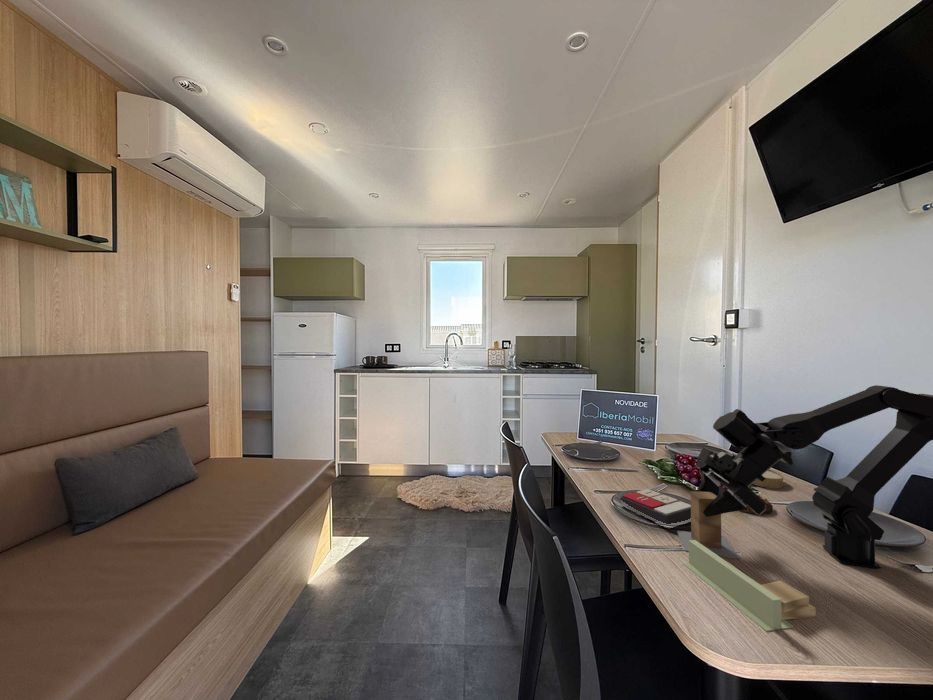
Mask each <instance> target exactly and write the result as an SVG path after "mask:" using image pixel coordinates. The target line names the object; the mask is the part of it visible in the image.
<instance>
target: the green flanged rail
mask: <svg viewBox="0 0 933 700" xmlns="http://www.w3.org/2000/svg"><path fill="white" fill-rule="evenodd" d="M683 565H684V566H685V567H686V568H687V569H689V570H690V571H691V572H692V573H694V575H696V576H697V577H698V578H699V579H701V580H702V581H703V582H705V583H706V584H707V585H708V586H709V587H711V588H712V589H713V590H715V591H716V592H717V593H719V595H721V596H722V597H724V599H725V600H727V601H728V602H729V603H731V604H732V606H734V607H736V608H737V610H740V611H741V612H742V613H743V614H744V615H746V617H748V618H749V619H750V620H752V621H753V622H754V623H755V624H757V625H758V627H760V628H761V629H763V630H764V631H765V632H773V631H780V630H781V631H782V630H786V629H792V628H794V625H793V624H791V623H789V622H788V620H787V619H786V620H781V599H780V598H779V597H777V596H776V595H774V594H773V593H771V592H770V591H769V590H767V589H766V588H764V587H763V586H761V585H762V584H760V583H758V582H757V581H756V580H754V579H753V578H751V577H750V576H748V575H747V574H745V573H744V572H742V571H741V570H739V569H738V568H736V566H734V565H732V564H731V563H730V562H728V561H726V560H725V559H724V558H723V557H720V556H718V555H716V554H715V553H713V552H712V551H711V550H709V549H708V548H706V547H705V546H703V545H702V544H700V543H699V542H697V541H696V540H689V552H688V562H686V563H685V562H684V563H683Z"/></svg>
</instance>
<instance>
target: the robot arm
mask: <svg viewBox="0 0 933 700" xmlns="http://www.w3.org/2000/svg"><path fill="white" fill-rule="evenodd" d="M887 409H893V410H897V412H896V419H895V420H896V421H895V426H894V427H893V428H892V429H891V430H890V431H889V432H888V433H887V434H886V435H885V437H883V439H882V440H880V441H879V443H877V444H876V445H875V447H873V449H871V451H870V452H869V453H867V455H865V456H864V457H863V458H862V460H860V462H859V463H858V464H857V465H856V466H855V467H854V468H852V470H851V471H850V472H849V473H848V474H847V475H846V476H845V477H843V478H839V479H836V480H835V479H833V478H831V477H829V476H827V477H825V478H824V479H823V480H822V481H821V484H820V485H818V486H816V487H815V488H813V491H815V492H814V493H813V495H812V497H811V499H812V502H813V503H812V504H813V506H814V507H815V509H816V510H818V511H819V512H820V513H821V515H822V518H823V519H825V520H826V521H828V522H827V523H826V524H827V525H826V526H827V527H826V530H824V544H823V545H822V548H823V549H824V550H826V552H828V553H829V554H830V555H831V556H832V557H833V558H834V559H835V560H837V561H838V563H841V564H844V565H852V566H859V567H867V568H873V569H880V570H881V569H882V566H881V564H880V563H878V562H877V561H876V541H881V539H882V538H883V535H884V533H885V530H884V529H883V528H882V527H880V526H879V525H878V524H877V523H876V522H874V521H873V520H872V519H871V518H870V516H871V515H872V513H873V511H874V507H875V497H876V495H877V493H878V492H880V491H881V490H882V489H883V488H884V487H885V486H886V484H887V483H889V482H890V480H892V479H893V478H894V477H895V476H896V475H897V474H898V473H899V472H900V471H901V470H902V469H903V468H904V467H905V466H906V465H907V464H908V463H909V462H910V461H911V460H912V459H913V458H914V457H915V456H916V455H917V454H918V453H919V452H920V451H921V450H922V449H923V448H924V447H925V446H926V445H927V444H928V443H930V442H931V441H933V394H928V393H927V394H926V393H913V392H908V391H905V390H900V389H899V388H897V387H893V386H886V385H885V386H884V385H877V384H876V385H872V386H869V387H867V388H866V389H865V390H862V391H859V392H856V393H854V394H852V395H849V396H847V397H843V398H842V399H839V400H836V401H833V402H832V403H829V404H826V405H823V406H821V407H819V408H816V409H813V410H811V411H810V410H809V411H806V412H801V413H790V414H785V415H781V416H777V417H773V418H771V419H770V420H768V421H764V422H763V421H762V422H754V421H753V420H751V418H750V417H748V416H747V414H746V413H745V412H744V411H743V410H741V409H738V408H735V410H733V411H732V412H731V411H730V412H727V413H726V414H723V415H720V416H719V417H718V418H717V419H716V421H714V423H713V425H712V428H713V430H715V431H716V432H717V433H718V434H719V435H721V437H723V438H724V439H725V440H726V441H727V442H728V443H730V445H732V446H733V447H734V448H742V449H741V450H740V451H739V452H738V453H737V454H735V453H733V452H731V453H726V452H724V451H721V452H717V451H715V450H712V449H710V448H709V447H706V446H702V449H701V450H700V452H699V454H698V456H697V459H698V461H697V462H696V463H695V464H694V465H695V466H696V467H697V469H699V471H698V473H699V474H700V484H699V486H698V488H697V490H696V492H712V493H713V494H715V495H716V496H717V497H716V498H715V499H714V500H713V501H712V502H711V503H710V505H709V506H708V507H707V508H706V509H705V511H704V512H703V514H704V515H705V516H707V517H709V516H714V515H719V514H721V515H722V514H728V513H733V512H742V511H741V510H745V511H748V509H747V508H746V506H747V505H748V506H749V508H750V509H751V510H752V511H753V512H755V513H756V515H758V516H760V515H763V514H762V513H763V512H764V511H765V510H766V503H765V502H764V501H763V500H762V499H761V498H760V497H759V496H760V495H759V494H757V493H756V492H754V491H753V490H752V489H751V487H750V486H751V485H754V484H753V483H754V482H755V481H756V480H757V479H758V480H760V481H764V480H765V479H766V478H764V477H763V476H762V475H763V474H764V473H765V472H766V471H767V470H771V468H772V467H773V466H775V465H776V464H777V463H778V462H779V461H780V462H782V463H785V464H786V465H790V466H792V465H794V461H793V458H792V451H789V450H786V449H782V448H781V447H779V446H778V445H777V444H780V445H782V446H784V447H786V448H789V449H792V450H801V449H806V447H809V446H810V445H812V444H814V443H816V442H818V441H819V440H820V439H821V438H822V437H823V435H824V434H825V433H827V432H828V431H831V430H833V429H836V428H839V427H840V426H844V425H847V424H849V423H851V422H854V421H857V420H859V419H862V418H865V417H868V416H870V415H873V414H876V413H879V412H881V411H884V410H887ZM761 436H762V437H761ZM763 437H765V438H767V439H770V440H765V439H764V438H763ZM771 440H772V441H771ZM776 443H777V444H776ZM725 487H726V488H725ZM758 495H759V496H758ZM755 513H754V514H755Z"/></svg>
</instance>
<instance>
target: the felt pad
mask: <svg viewBox="0 0 933 700" xmlns="http://www.w3.org/2000/svg"><path fill="white" fill-rule="evenodd" d="M676 533H677V536H678V537H679V540H680V542H681V545H682V547H683V549H684V551H685V553H686V552H687V553H689V540H693V539H692V538H691V531H685V530H678V529H677V530H676ZM721 544H722V549H718V548H708V549H709V550H711V551H712V552H713V553H715V554H716V555H718V556H719V557H721V558H728V559H734V560H740V559H741V558H740V556H739V555H738V553H737V552H736V551H735V549H734V548H733V545H731V543H730V542H729V540H728V538H727V537H726V536H722V535H721Z"/></svg>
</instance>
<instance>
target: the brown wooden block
mask: <svg viewBox="0 0 933 700" xmlns="http://www.w3.org/2000/svg"><path fill="white" fill-rule="evenodd" d="M716 497H717V496H716V495H715V494H713V493H712V492H697V490H696V491H693V490H690V505H691V523H690V530H691V531H690V532H691V538H692V539H693V540H696V541H697V542H699V543H700V544H702V545H703V546H705V547H706V548H718V549H722V544H721V536H722V514H719V515H714V516H709V517H707V516H705V515H704V514H703V512H704V511H705V509H706V508H707V507H708V506H709V505H710V503H711V502H712V501H713V500H714V499H715V498H716Z"/></svg>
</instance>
